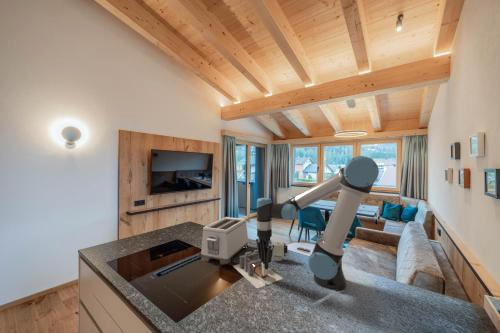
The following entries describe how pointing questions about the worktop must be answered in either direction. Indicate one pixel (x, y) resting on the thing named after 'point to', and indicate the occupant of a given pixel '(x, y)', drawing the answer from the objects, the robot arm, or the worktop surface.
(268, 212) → the robot arm
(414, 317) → the worktop surface
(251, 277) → the board
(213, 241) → the toaster
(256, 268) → the tube
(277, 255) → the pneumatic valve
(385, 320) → the worktop surface
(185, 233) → the worktop surface
